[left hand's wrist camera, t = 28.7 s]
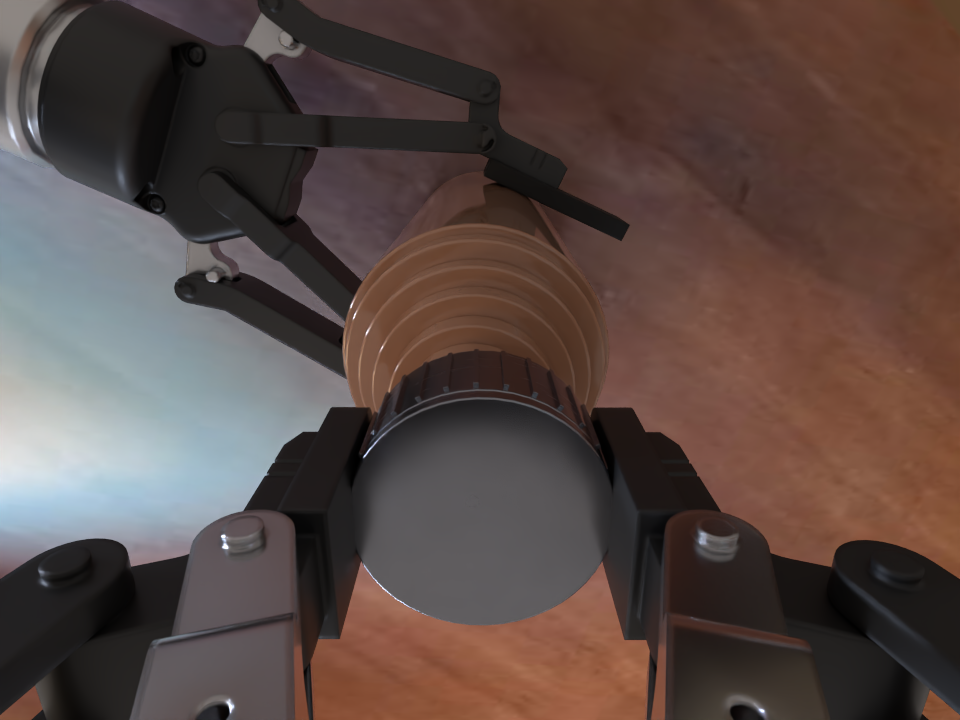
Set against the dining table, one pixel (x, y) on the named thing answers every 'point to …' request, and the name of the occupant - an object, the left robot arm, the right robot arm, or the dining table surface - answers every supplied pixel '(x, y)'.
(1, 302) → the dining table surface
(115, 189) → the right robot arm
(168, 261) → the dining table surface
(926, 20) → the dining table surface
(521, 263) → the bottle
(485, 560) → the cap
